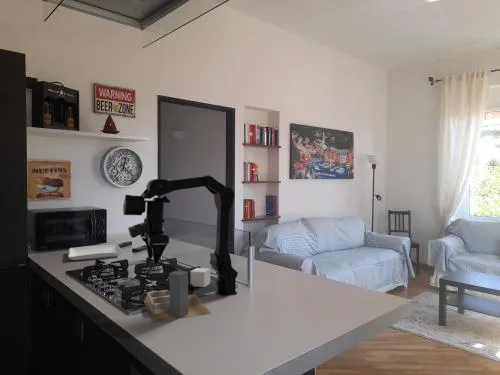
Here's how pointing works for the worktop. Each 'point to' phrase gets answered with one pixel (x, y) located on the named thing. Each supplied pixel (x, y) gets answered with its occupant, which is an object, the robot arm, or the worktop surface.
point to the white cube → (200, 277)
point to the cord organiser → (161, 306)
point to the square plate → (94, 252)
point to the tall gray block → (178, 293)
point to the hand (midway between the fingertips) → (152, 261)
